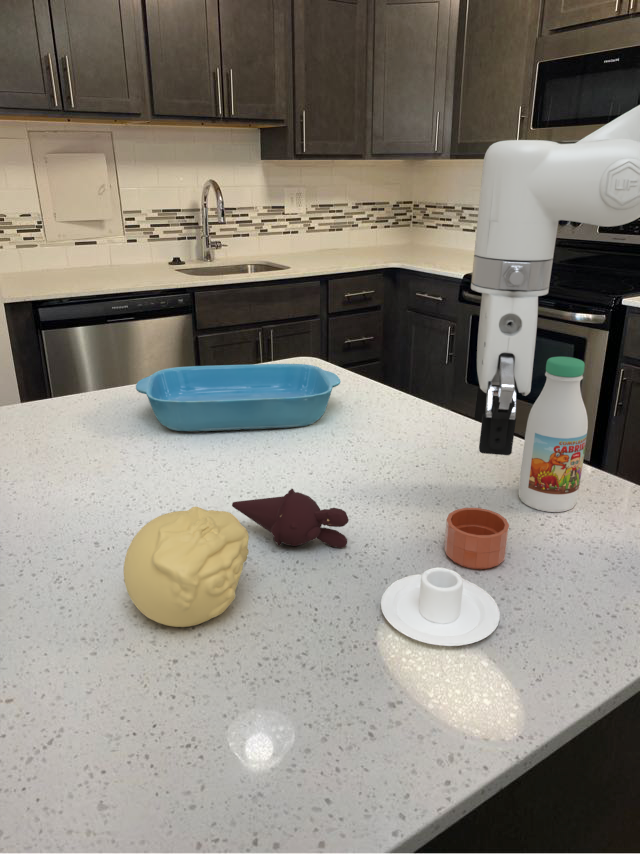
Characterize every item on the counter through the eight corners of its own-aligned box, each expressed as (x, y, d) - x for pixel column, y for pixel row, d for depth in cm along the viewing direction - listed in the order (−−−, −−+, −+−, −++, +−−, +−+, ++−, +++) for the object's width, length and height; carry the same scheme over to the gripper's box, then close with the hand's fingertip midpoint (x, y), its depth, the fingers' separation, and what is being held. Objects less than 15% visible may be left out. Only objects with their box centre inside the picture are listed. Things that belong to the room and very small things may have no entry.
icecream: (216, 502, 77) (339, 532, 73) (242, 464, 83) (357, 490, 79) (221, 544, 81) (338, 574, 78) (246, 504, 87) (355, 531, 83)
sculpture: (199, 658, 62) (191, 558, 58) (105, 618, 67) (92, 525, 63) (267, 594, 71) (264, 505, 67) (180, 564, 77) (173, 479, 73)
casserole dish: (328, 391, 136) (328, 358, 134) (350, 431, 116) (351, 392, 113) (144, 401, 131) (141, 366, 128) (133, 443, 110) (129, 403, 108)
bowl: (496, 539, 82) (500, 507, 80) (511, 571, 75) (516, 537, 74) (439, 539, 82) (442, 507, 80) (450, 571, 75) (453, 537, 74)
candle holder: (384, 574, 75) (385, 541, 73) (493, 584, 73) (497, 550, 71) (376, 645, 64) (378, 607, 62) (505, 658, 62) (509, 619, 60)
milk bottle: (506, 499, 92) (522, 359, 85) (536, 483, 97) (554, 349, 89) (557, 519, 86) (579, 372, 79) (586, 501, 91) (609, 360, 84)
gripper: (565, 292, 57) (537, 472, 63) (538, 266, 73) (518, 411, 79) (476, 288, 58) (458, 465, 65) (468, 263, 74) (454, 407, 80)
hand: (491, 435), depth 72 cm, fingers open, 9 cm apart
